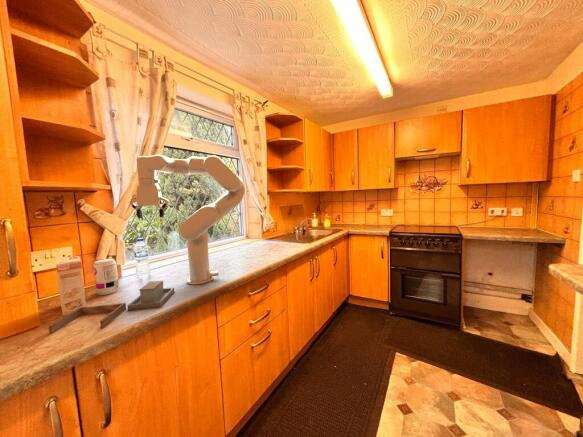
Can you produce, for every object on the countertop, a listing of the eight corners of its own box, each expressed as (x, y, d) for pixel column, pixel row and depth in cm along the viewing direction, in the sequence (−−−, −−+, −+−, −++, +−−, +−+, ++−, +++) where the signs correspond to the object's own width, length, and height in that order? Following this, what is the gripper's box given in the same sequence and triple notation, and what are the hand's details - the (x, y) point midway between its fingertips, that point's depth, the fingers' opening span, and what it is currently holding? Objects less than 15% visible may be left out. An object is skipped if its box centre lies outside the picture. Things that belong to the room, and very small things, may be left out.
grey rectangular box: (164, 294, 103) (163, 280, 103) (155, 303, 94) (153, 288, 93) (151, 295, 102) (150, 281, 102) (140, 304, 93) (139, 289, 93)
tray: (174, 291, 107) (174, 287, 107) (160, 307, 91) (160, 302, 91) (146, 294, 105) (146, 290, 105) (127, 310, 90) (127, 305, 90)
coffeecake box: (87, 309, 92) (81, 260, 91) (61, 316, 87) (55, 264, 86) (84, 299, 103) (78, 255, 101) (61, 305, 98) (55, 258, 96)
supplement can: (94, 297, 105) (90, 263, 104) (99, 291, 112) (95, 260, 111) (117, 293, 109) (113, 260, 107) (120, 287, 116) (117, 257, 115)
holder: (126, 309, 91) (125, 302, 91) (103, 327, 78) (102, 320, 77) (80, 313, 89) (80, 307, 89) (49, 333, 75) (48, 326, 75)
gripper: (169, 182, 121) (172, 216, 122) (131, 183, 117) (135, 218, 119) (164, 181, 113) (167, 217, 115) (124, 182, 110) (127, 219, 111)
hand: (151, 217), depth 117 cm, fingers open, 9 cm apart
